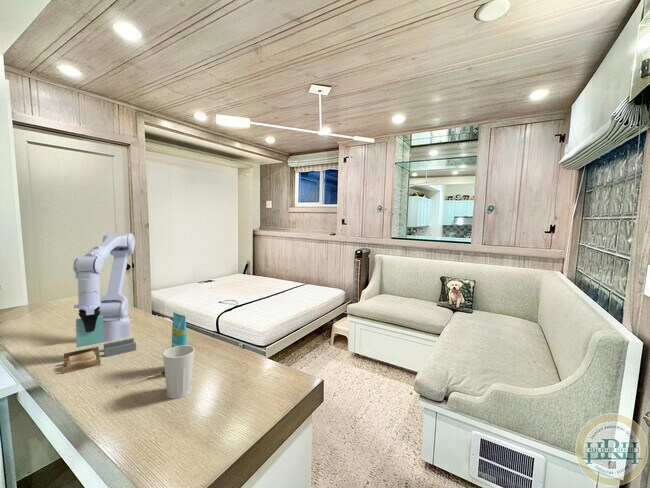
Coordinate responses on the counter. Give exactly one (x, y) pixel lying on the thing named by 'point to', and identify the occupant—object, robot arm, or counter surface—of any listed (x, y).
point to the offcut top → (81, 357)
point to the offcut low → (81, 362)
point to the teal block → (89, 333)
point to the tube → (179, 330)
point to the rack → (83, 365)
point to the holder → (119, 347)
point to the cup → (178, 370)
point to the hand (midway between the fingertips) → (90, 330)
